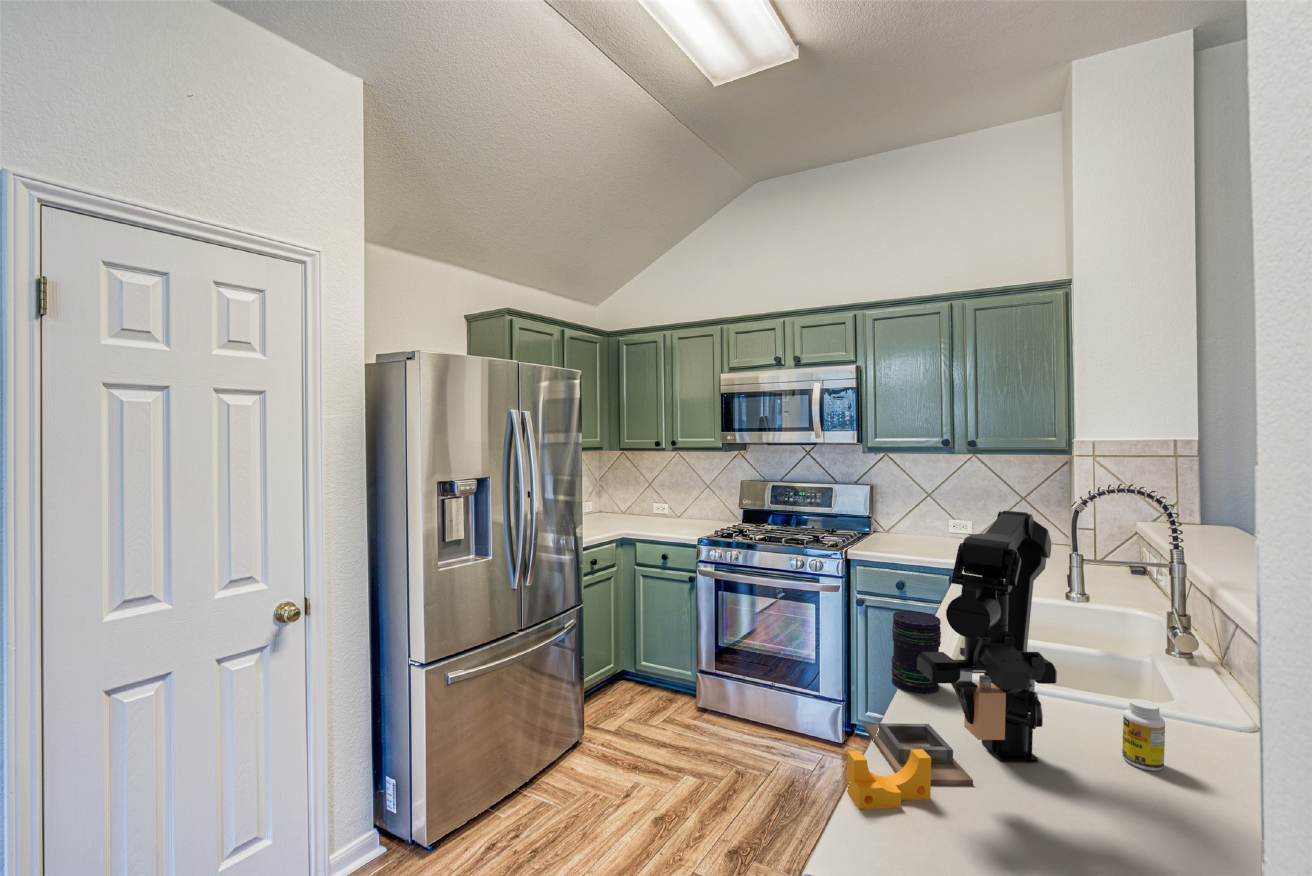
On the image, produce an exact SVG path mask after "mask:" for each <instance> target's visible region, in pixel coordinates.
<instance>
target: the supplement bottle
mask: <svg viewBox="0 0 1312 876" xmlns="http://www.w3.org/2000/svg"><path fill="white" fill-rule="evenodd" d="M1128 705H1129V706H1128V707H1129V708H1127V709H1125V710H1124V711H1123V715H1122V716H1123V717H1122V718H1123V719H1122V721H1123V722H1122V724H1123V725H1122V746H1121V747H1122V748H1121V749H1122V751H1121V753H1122V755H1121V756H1122V758H1123V759H1124V760H1125V761H1126V762H1127V763H1128V764H1130V765H1132V766H1134V767H1136V768H1137V769H1138V768H1139V769H1140V770H1141V769H1142V770H1145V771H1154V772H1157V771H1161V770H1163V769H1164V766H1165V747H1166V746H1165V745H1166V743H1165V742H1166V741H1165V740H1166V721H1165V720H1164V718H1163V717H1161V716H1160V713H1161V712H1160V706H1159V705H1158V704H1157V703H1155V702H1152V701H1149V700H1145V699H1140V698H1132V699H1130V700H1129V704H1128Z"/></svg>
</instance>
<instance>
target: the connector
mask: <svg viewBox="0 0 1312 876" xmlns="http://www.w3.org/2000/svg"><path fill="white" fill-rule="evenodd" d="M978 676H979V678H978V679H979V680H978V681H973V682H974V683H975V684H976V685H977V686H978V687H977V689H976V690H975V691H974V720H973V724H970V723H969V722H967V720H966V717H965V716H964V721H963V722H964V723H963V724H964V725H963V727H964V728H965V729H966V730H967V731H968V732H969V733H970V734H971V735H972V736H973V737H974V738H975V739H977V740H979V741H982V740H1005V708H1006V693H1005V692H1003V691H1002V690H1001V689H999V688H998V687H996V686H995V685H994V684H993V683H991V678H990V677H989V676H987V675H984V674H979V675H978Z"/></svg>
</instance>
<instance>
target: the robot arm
mask: <svg viewBox="0 0 1312 876" xmlns="http://www.w3.org/2000/svg"><path fill="white" fill-rule="evenodd" d="M1051 554H1052V539H1051V536H1050V532H1049V530H1048V529H1047V528H1046V527H1045V526H1044V525H1041V524H1040V523H1039V522H1037V521H1036V520H1034V516H1033V514H1031V513H1028V511H1027V512H1026V511H1014V510H1005V509H1004V510H1003V511H998V513H997V518H996V520H995V521H994V522H993V523H992V524H991V525H990V526H989V528H988V529H987V530H986V531H985V532H984V533H973V534H972V533H971V534H970V535H968V536H966V537H965V538H964V539H963V541H962V542H960V543H959V545H958V549H957V553H956V558H955V562H954V568H953V571H952V576H951V580H950V581H951V584H953V585H959V586H961V591H960V592H961V593H960V595H958V596H956V597H955V598H954V599H953V600H951V601H950V602H949V604H948V605H947V608H946V610H945V611H946V612H945V617H946V619H947V623H948V625H949V626H950V627H951V629H952V630H953V631H954V632H955V633H956V634H958V635H960V636H961V637H964V647H960V648H959V654H960V656H962V657H964V658H963V659H953V658H952V657H951V656H949V655H948V654H947V653H945V652H944V651H939V652H921V654H920V655H919V656H918V658H917V669H918V670H919V671H920V672H922V673H923V674H924V675H925V676H926V677H927V678H928V679H930V680H931V681H932V682H934V683H939V684H950V685H951V686H952V688H953V690H954V693H955V694H956V697H957V699H958V702H959V704H960V708H961V710H962V712H963V715H964V718H965V717H966V720H967V722H969V723H970V724H973V720H974V691H975V690H976V689H977V687H978V686H977V685H976V684H975V683H974V682H975V681H973V674H983V675H987V676H989V677H990V678H991V683H993V684H994V685H995V686H996V687H998V688H999V689H1001V690H1002V691H1003V692H1005V693H1006V708H1005V740H981V744H982V745H983V746H985V748H986V749H987V750H989V752H991V754H993V755H994V756H995V757H996V758H997V759H998V760H999V761H1002V762H1021V763H1023V762H1025V763H1026V762H1029V763H1030V762H1031V763H1036V762H1039V757H1038V756H1036V755H1035V754H1034V753H1033V740H1034V739H1033V738H1034V737H1033V735H1034V734H1033V731H1034V730H1036V728H1042V727H1043V721H1044V720H1043V719H1044V717H1043V709H1042V703H1041V701H1040V698H1039V696H1038V693H1037V691H1036V692H1035V687H1036V686H1035V685H1036V683H1037V684H1041V685H1043V684H1046V685H1047V684H1055V685H1056V683H1057V682H1058V681H1057V679H1058V675H1057V674H1058V673H1057V671H1058V670H1057V669H1056V666H1055V665H1054V663H1053V662H1051V661H1049V660H1047V659H1046V658H1045V657H1044V656H1043V655H1042V654H1041V652H1040V651H1028V643H1029V635H1030V634H1029V633H1030V623H1031V615H1032V614H1031V611H1032V602H1033V601H1032V600H1033V591H1034V590H1033V589H1034V584H1035V583H1034V582H1035V580H1036V579H1037V578H1038V577H1039V576H1041V574H1042V572H1044V571H1045V570H1046V565H1047V559H1050V557H1051ZM1035 682H1036V683H1035Z"/></svg>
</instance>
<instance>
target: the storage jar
mask: <svg viewBox="0 0 1312 876" xmlns="http://www.w3.org/2000/svg"><path fill="white" fill-rule="evenodd" d="M892 619H893V620H892V626H891V629H892V634H891V639H892V641H893V653H892V654H893V655H892V657H891V661H890V662H891V664H890V665H891V670H890V671H891V676H892V677H891V684H892V685H893V686H894V687H895V688H896V689H899V690H901V691H904V692H906V693H910V694H915V695H933V694H934V695H935V694H937V693H938V692H939V691H940V685H939V684H940V683H934V682H932V681H931V680H930V679H928V678H927V677H926V676H925V675H924V674H923V673H922V672H920V671H919V670H918V669H917V658H918V656H919V655H920V654H921V652H940V650H939V649H940V647H941V643H942V642H941V638H942V632H941V624H942V623H941V619H940V617H938V616H936V615H933V614H931V613H926V612H922V611H915V610H900V611H899V610H898V611H895V612H893V615H892Z"/></svg>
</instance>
